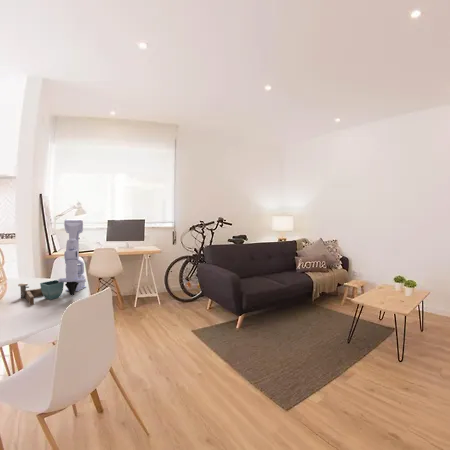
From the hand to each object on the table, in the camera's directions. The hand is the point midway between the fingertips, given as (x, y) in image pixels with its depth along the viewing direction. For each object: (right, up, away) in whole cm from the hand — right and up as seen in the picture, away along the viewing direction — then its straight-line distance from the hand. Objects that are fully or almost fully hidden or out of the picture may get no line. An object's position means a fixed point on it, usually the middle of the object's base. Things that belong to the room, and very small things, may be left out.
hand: (72, 295), depth 153 cm
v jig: (-22, -2, +1) cm, 23 cm away
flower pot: (-11, -2, +1) cm, 12 cm away
